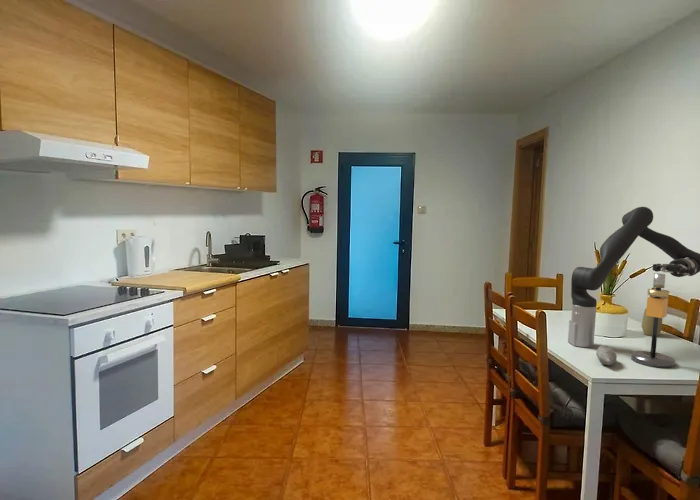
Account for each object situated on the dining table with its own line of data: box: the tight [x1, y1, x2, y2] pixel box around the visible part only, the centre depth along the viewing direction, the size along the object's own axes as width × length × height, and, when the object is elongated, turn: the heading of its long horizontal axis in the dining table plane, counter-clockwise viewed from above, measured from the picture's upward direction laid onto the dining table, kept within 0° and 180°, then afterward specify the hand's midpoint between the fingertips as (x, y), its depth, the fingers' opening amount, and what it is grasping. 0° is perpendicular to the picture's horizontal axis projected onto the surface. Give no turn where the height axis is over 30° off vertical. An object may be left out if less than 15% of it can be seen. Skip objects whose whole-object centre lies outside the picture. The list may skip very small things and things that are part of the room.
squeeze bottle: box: [641, 308, 663, 337], centre depth 214 cm, size 8×8×18 cm
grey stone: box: [595, 344, 618, 366], centre depth 174 cm, size 6×14×8 cm, turn 160°
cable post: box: [630, 272, 676, 369], centre depth 175 cm, size 14×14×34 cm
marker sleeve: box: [645, 296, 669, 319], centre depth 175 cm, size 5×5×7 cm
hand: (668, 270), depth 185 cm, fingers open, 8 cm apart
